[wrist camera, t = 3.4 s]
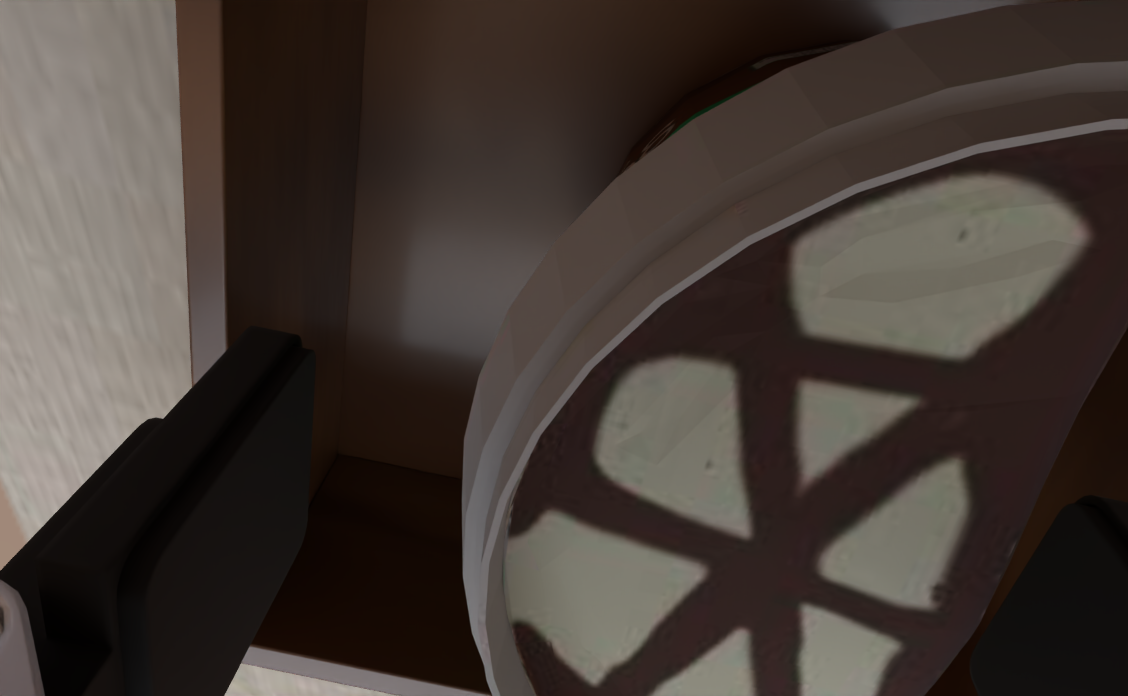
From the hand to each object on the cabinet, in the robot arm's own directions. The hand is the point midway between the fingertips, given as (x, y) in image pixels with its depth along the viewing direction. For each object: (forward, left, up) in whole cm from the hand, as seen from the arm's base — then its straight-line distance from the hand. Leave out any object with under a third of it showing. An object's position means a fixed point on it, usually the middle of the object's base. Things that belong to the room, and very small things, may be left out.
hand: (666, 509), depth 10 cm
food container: (0, 0, -8) cm, 8 cm away
